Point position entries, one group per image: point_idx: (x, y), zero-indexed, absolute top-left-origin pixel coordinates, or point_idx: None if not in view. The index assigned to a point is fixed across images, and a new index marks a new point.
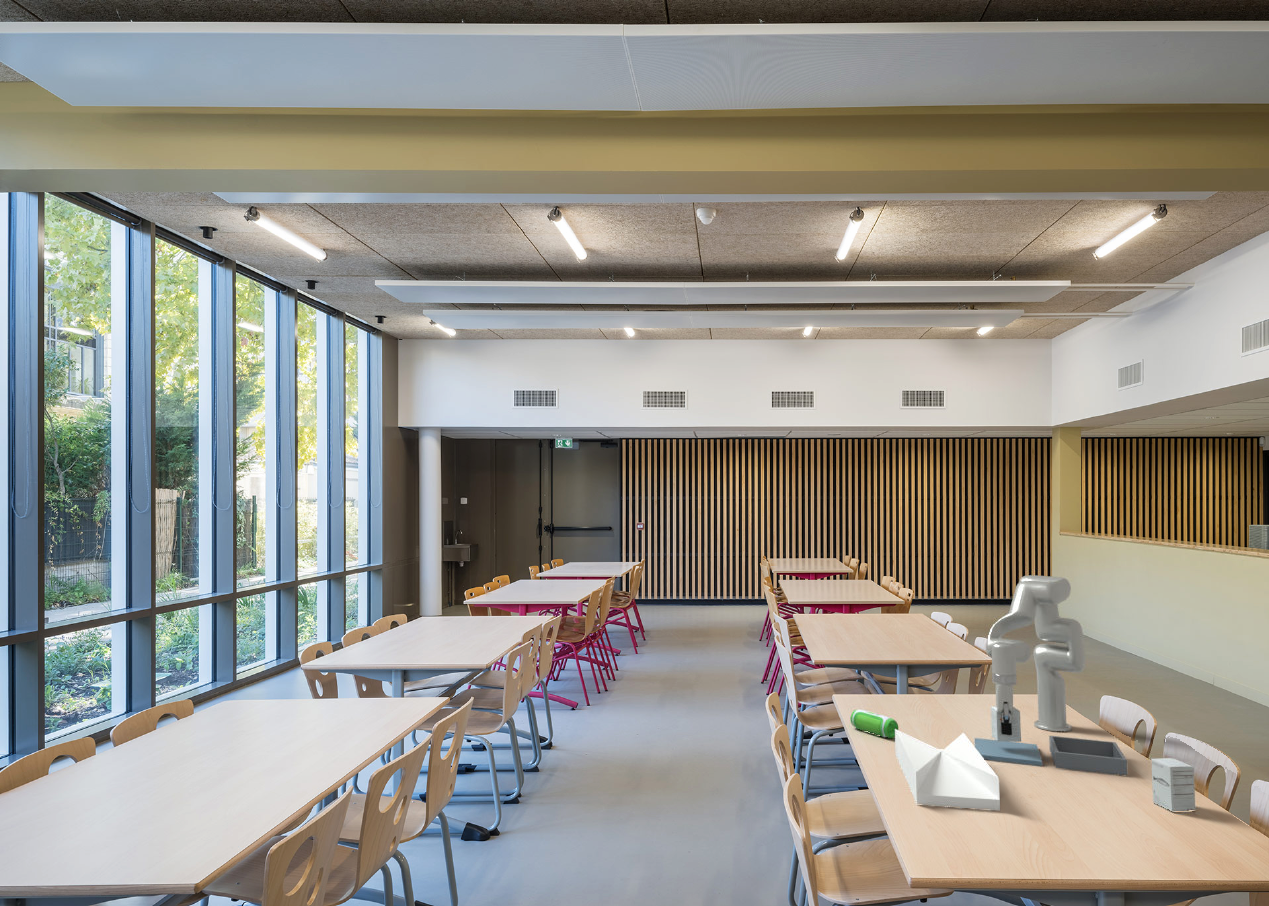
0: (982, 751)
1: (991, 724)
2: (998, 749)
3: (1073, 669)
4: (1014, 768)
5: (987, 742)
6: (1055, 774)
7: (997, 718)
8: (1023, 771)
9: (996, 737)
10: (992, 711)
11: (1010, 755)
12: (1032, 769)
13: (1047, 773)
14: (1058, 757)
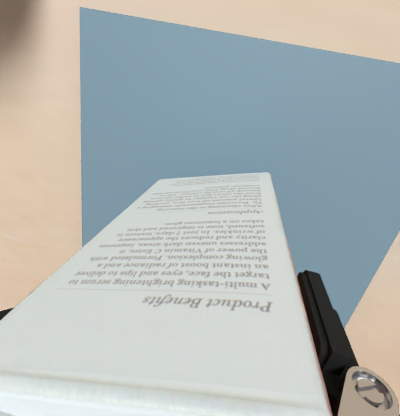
0: (148, 68)
1: (275, 204)
2: (211, 175)
3: None
4: (23, 179)
5: (356, 148)
6: (24, 290)
7: (58, 277)
8: (3, 202)
9: (167, 183)
10: (194, 317)
11: (123, 205)
12: (42, 240)
13: (22, 271)
14: None
